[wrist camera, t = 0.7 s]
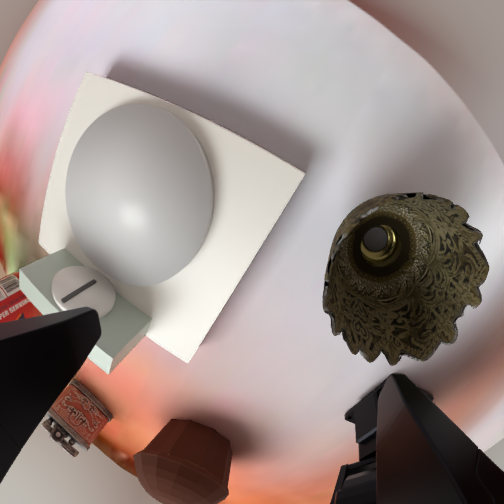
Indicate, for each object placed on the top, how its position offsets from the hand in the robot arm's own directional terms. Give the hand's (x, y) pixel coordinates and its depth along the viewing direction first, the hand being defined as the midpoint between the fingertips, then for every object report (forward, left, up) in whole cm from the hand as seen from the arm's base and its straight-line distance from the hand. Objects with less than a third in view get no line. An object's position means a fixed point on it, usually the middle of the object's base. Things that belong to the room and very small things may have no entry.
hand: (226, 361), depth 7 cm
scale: (+10, +3, -12) cm, 16 cm away
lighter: (+10, +34, -12) cm, 38 cm away
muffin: (-5, +26, -12) cm, 29 cm away
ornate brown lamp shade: (-5, -4, -12) cm, 14 cm away
